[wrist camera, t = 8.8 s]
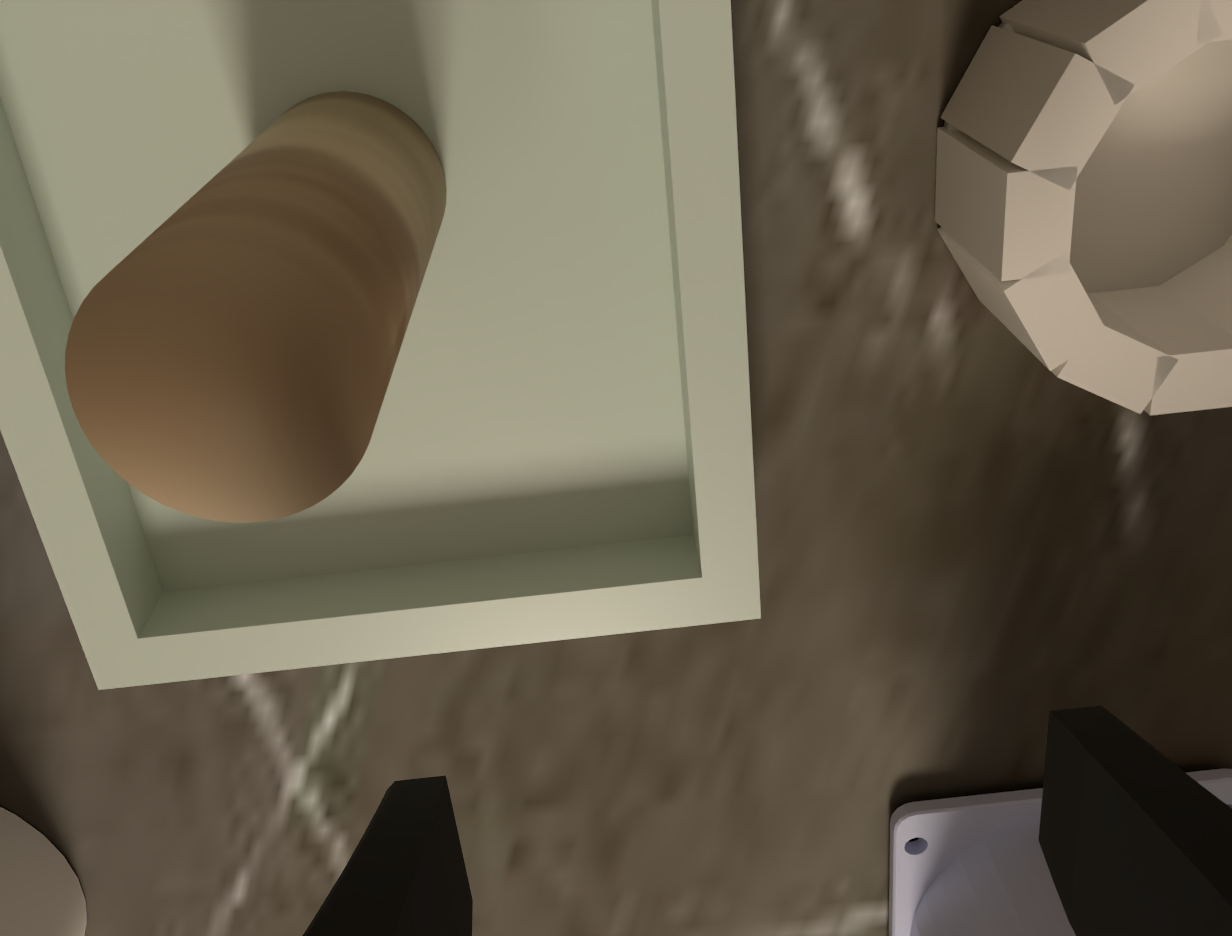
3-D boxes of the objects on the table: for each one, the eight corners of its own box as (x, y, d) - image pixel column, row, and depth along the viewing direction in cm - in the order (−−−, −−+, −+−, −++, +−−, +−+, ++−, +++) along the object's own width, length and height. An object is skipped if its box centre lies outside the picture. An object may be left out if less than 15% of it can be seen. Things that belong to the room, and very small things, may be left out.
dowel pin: (460, 268, 19) (401, 506, 12) (280, 288, 19) (118, 537, 12) (428, 80, 18) (342, 225, 11) (235, 102, 18) (20, 261, 11)
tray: (741, 546, 23) (760, 618, 21) (142, 611, 23) (98, 690, 21) (684, -456, 16) (705, -511, 14) (-190, -360, 16) (-313, -400, 14)
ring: (1287, 314, 21) (1407, 387, 18) (931, 354, 21) (993, 432, 18) (1356, -79, 18) (1515, -70, 15) (941, -34, 18) (1017, -16, 15)
